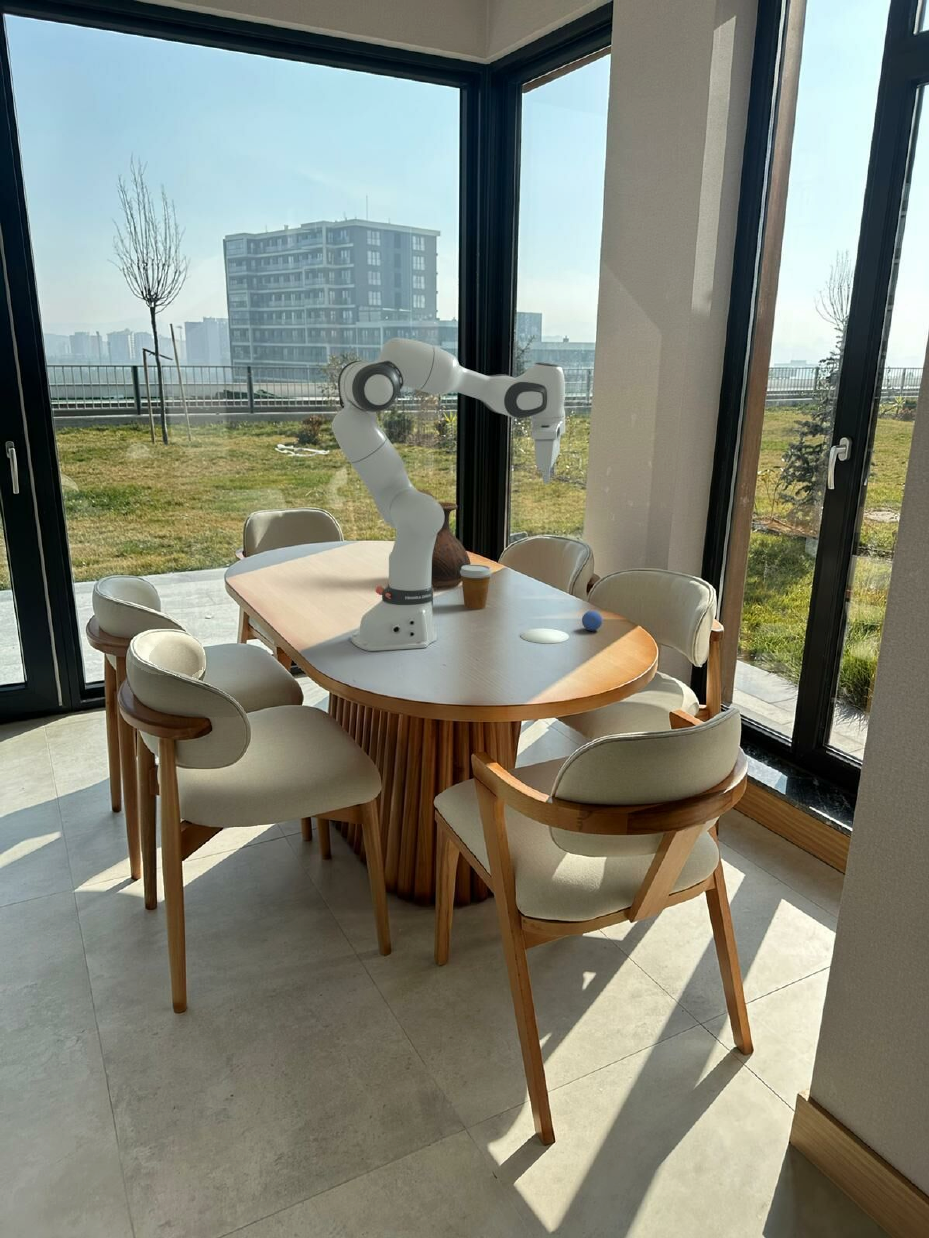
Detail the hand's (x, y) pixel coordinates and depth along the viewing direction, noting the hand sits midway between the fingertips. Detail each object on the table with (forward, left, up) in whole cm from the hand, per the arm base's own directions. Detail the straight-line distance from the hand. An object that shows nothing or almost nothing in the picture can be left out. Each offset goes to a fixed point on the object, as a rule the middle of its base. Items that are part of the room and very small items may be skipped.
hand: (548, 479), depth 232 cm
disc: (-5, -9, -41) cm, 42 cm away
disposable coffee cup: (-9, +25, -41) cm, 49 cm away
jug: (-8, +55, -41) cm, 69 cm away
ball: (+10, -9, -38) cm, 40 cm away
